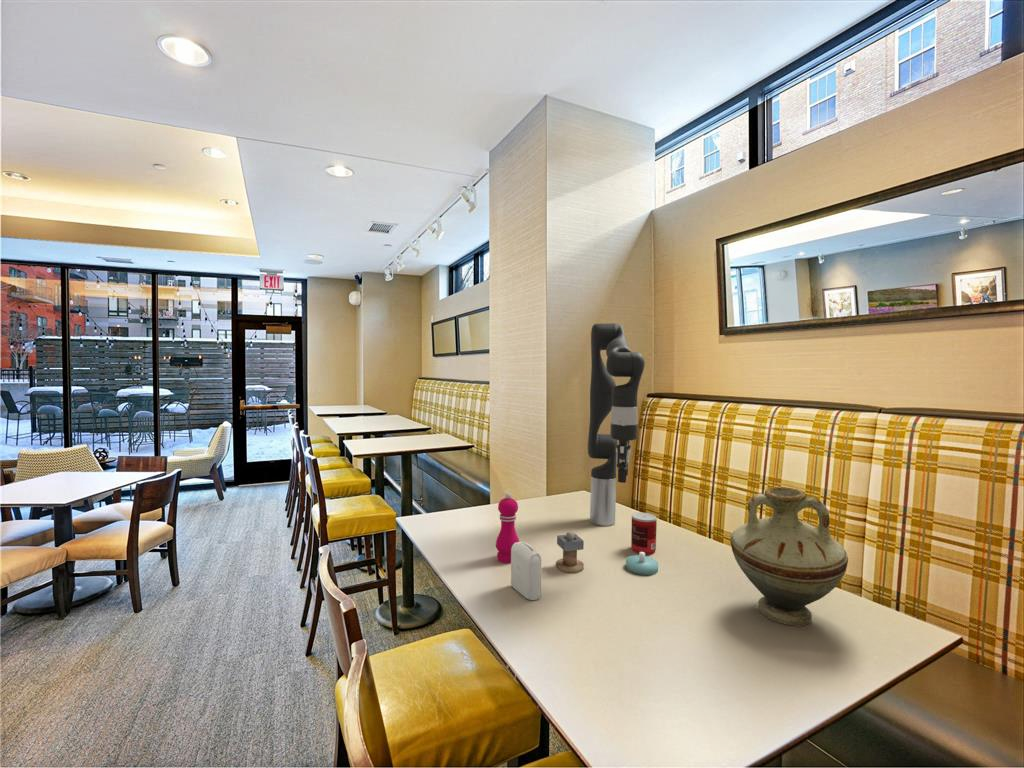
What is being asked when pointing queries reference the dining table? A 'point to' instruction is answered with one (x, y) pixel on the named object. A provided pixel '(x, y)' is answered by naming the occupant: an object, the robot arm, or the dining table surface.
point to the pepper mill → (506, 528)
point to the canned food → (643, 533)
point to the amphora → (788, 555)
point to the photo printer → (526, 570)
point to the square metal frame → (570, 543)
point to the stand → (569, 559)
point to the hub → (642, 564)
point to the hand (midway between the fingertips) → (623, 478)
